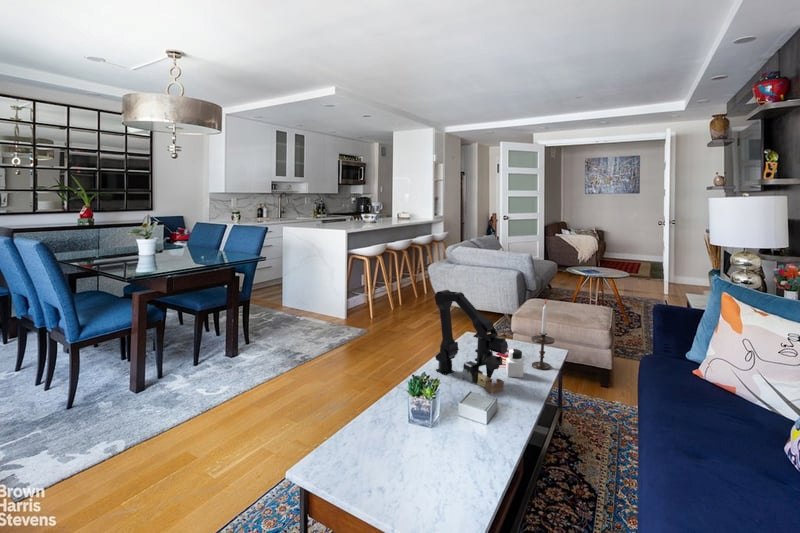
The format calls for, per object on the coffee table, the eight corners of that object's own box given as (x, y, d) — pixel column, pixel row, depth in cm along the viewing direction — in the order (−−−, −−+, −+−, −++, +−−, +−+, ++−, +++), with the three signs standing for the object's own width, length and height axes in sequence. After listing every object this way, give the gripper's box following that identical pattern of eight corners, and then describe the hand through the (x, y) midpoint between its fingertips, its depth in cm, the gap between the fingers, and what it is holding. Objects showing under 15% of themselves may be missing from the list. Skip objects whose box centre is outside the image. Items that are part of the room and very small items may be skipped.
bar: (465, 377, 203) (465, 371, 202) (472, 376, 205) (472, 369, 204) (485, 388, 192) (485, 381, 191) (492, 386, 194) (492, 379, 193)
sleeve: (462, 378, 202) (463, 368, 202) (473, 375, 206) (473, 365, 205) (471, 383, 197) (471, 373, 197) (482, 380, 201) (482, 370, 200)
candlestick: (555, 371, 213) (560, 300, 207) (533, 370, 213) (537, 300, 208) (548, 362, 223) (553, 295, 218) (527, 362, 224) (531, 295, 218)
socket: (486, 391, 189) (486, 381, 189) (497, 387, 193) (498, 378, 192) (491, 394, 186) (492, 384, 186) (503, 390, 190) (504, 381, 190)
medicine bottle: (520, 371, 211) (521, 348, 209) (523, 377, 204) (524, 353, 202) (505, 371, 212) (506, 347, 210) (507, 377, 205) (508, 352, 203)
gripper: (481, 357, 182) (479, 393, 184) (512, 349, 192) (510, 383, 194) (463, 350, 191) (462, 383, 194) (494, 342, 201) (492, 375, 204)
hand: (482, 381), depth 196 cm, fingers open, 7 cm apart
